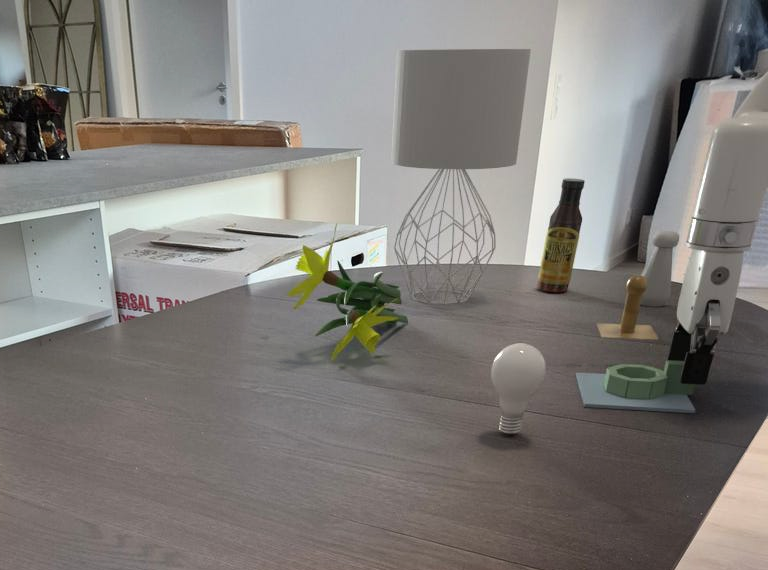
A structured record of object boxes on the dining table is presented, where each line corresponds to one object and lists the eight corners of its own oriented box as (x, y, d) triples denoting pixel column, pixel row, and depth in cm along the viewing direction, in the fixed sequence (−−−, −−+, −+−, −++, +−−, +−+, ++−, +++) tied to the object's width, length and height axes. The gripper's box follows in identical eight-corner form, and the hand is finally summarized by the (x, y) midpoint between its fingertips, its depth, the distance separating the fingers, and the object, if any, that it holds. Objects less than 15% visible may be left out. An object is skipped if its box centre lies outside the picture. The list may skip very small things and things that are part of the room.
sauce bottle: (534, 292, 169) (551, 180, 158) (538, 286, 174) (555, 176, 163) (568, 295, 167) (587, 181, 156) (571, 288, 172) (590, 177, 161)
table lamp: (519, 307, 160) (555, 48, 137) (407, 315, 155) (426, 49, 132) (469, 282, 177) (494, 50, 155) (368, 288, 173) (379, 50, 150)
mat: (675, 380, 122) (676, 377, 122) (694, 413, 111) (695, 409, 111) (575, 375, 125) (576, 372, 124) (584, 407, 113) (584, 403, 113)
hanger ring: (685, 384, 119) (693, 355, 117) (696, 401, 113) (704, 371, 111) (601, 380, 121) (607, 351, 119) (607, 397, 115) (614, 367, 113)
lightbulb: (537, 445, 102) (552, 352, 96) (483, 442, 103) (495, 350, 97) (533, 426, 107) (548, 338, 101) (482, 424, 108) (493, 336, 102)
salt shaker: (662, 313, 155) (680, 235, 148) (630, 309, 157) (647, 232, 150) (670, 306, 159) (688, 230, 152) (638, 302, 162) (655, 228, 154)
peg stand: (649, 330, 145) (663, 270, 140) (658, 344, 138) (672, 281, 133) (595, 327, 147) (606, 268, 141) (600, 341, 140) (612, 279, 134)
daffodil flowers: (449, 333, 147) (388, 323, 117) (376, 372, 154) (300, 371, 124) (412, 240, 146) (340, 205, 115) (340, 284, 153) (254, 261, 122)
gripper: (771, 248, 98) (729, 394, 107) (736, 224, 112) (702, 355, 121) (702, 246, 99) (666, 391, 109) (676, 223, 113) (647, 353, 123)
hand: (685, 372), depth 115 cm, fingers open, 9 cm apart
